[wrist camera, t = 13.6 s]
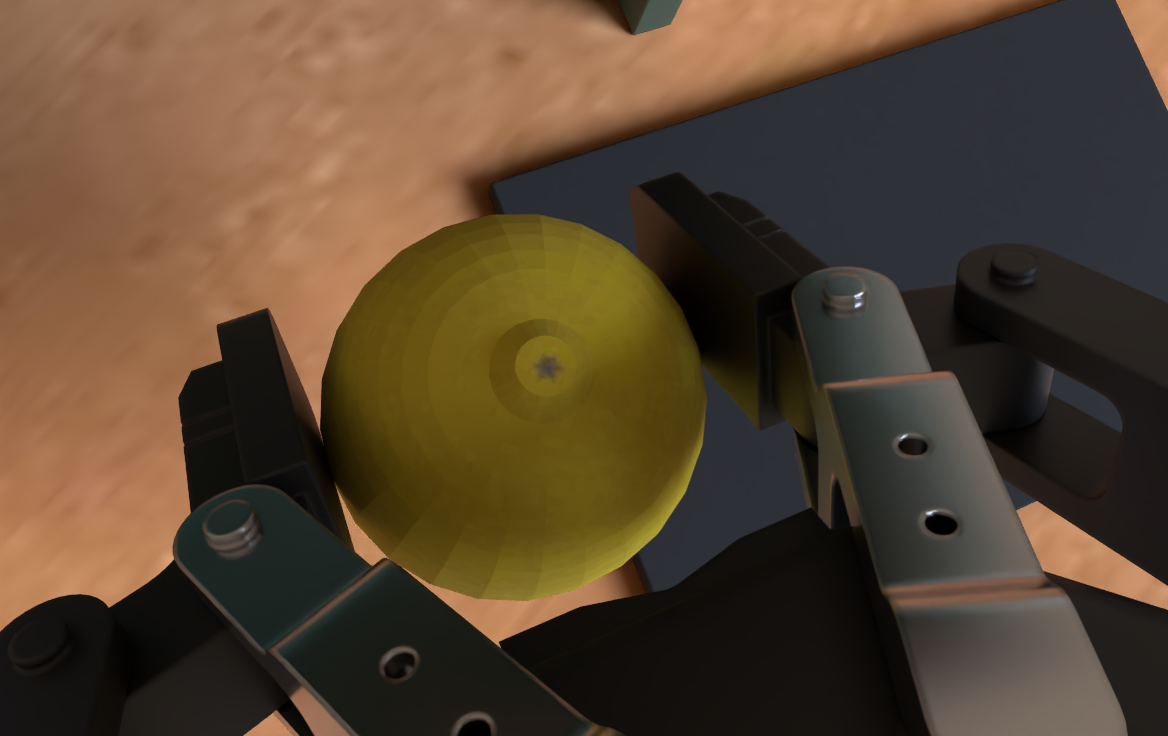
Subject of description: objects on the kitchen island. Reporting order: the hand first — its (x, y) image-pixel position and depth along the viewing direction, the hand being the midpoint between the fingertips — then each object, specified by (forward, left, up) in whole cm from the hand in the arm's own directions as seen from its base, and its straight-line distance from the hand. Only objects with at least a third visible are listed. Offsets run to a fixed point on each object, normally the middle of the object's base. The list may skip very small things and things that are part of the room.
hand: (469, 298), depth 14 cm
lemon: (0, +2, -4) cm, 5 cm away
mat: (-13, +2, -11) cm, 17 cm away
